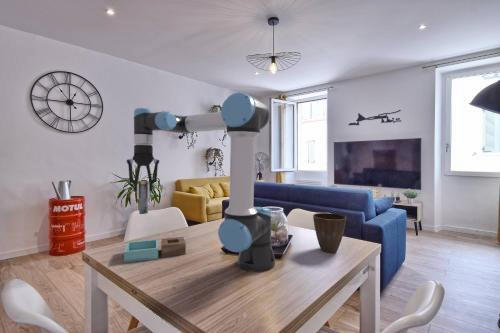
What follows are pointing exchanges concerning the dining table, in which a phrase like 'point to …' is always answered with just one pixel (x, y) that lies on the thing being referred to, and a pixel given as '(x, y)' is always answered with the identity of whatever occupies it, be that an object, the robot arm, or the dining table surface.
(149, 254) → the pin tray
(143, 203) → the steel pin
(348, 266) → the dining table surface
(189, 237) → the dining table surface
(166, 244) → the block
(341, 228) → the plant pot
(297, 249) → the dining table surface
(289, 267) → the dining table surface
